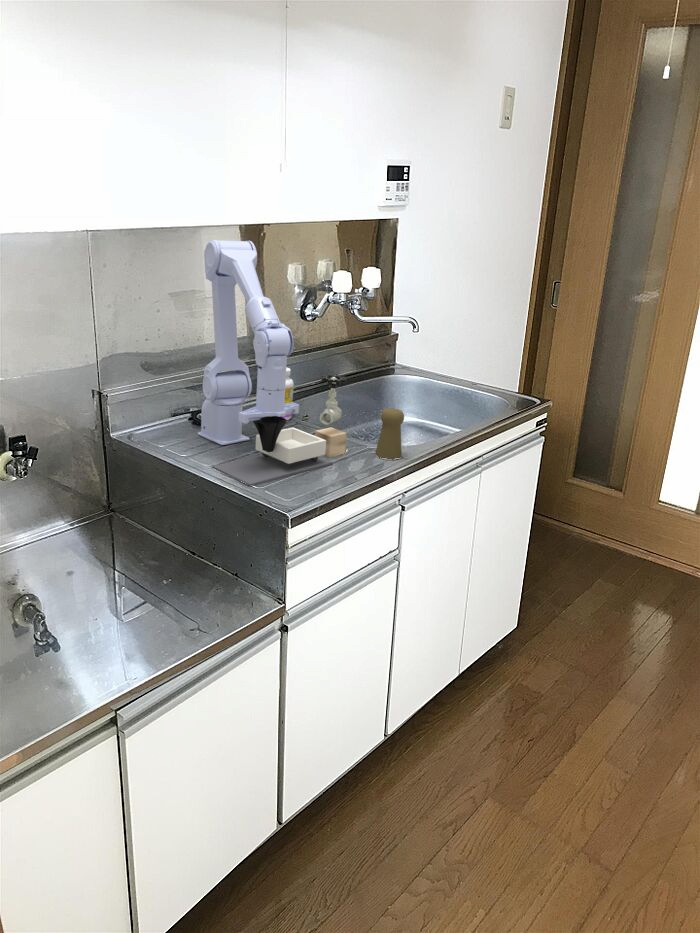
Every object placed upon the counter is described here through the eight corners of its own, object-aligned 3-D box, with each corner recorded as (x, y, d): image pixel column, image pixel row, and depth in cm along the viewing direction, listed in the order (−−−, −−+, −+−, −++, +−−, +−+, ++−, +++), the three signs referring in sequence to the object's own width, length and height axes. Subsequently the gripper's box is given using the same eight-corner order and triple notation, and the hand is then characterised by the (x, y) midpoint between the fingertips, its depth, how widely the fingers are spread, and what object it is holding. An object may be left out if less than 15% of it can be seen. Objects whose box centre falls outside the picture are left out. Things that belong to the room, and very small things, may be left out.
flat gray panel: (212, 468, 161) (212, 466, 160) (295, 448, 177) (295, 446, 176) (249, 486, 153) (249, 484, 153) (332, 464, 169) (332, 462, 169)
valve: (313, 424, 196) (316, 377, 191) (323, 418, 201) (326, 372, 197) (337, 429, 194) (341, 382, 189) (346, 422, 199) (350, 376, 195)
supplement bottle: (262, 419, 195) (264, 369, 191) (269, 413, 202) (271, 364, 197) (288, 423, 195) (291, 373, 190) (294, 416, 201) (297, 367, 196)
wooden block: (313, 451, 176) (315, 430, 174) (329, 447, 180) (331, 427, 178) (329, 458, 173) (331, 436, 171) (345, 454, 176) (346, 433, 175)
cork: (401, 453, 180) (407, 407, 176) (401, 461, 174) (406, 414, 171) (376, 450, 181) (380, 404, 177) (374, 458, 175) (378, 411, 171)
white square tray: (255, 456, 167) (256, 435, 166) (291, 447, 175) (293, 427, 173) (287, 471, 161) (289, 449, 159) (324, 461, 168) (326, 440, 166)
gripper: (255, 396, 150) (252, 462, 154) (310, 387, 160) (306, 449, 165) (233, 388, 154) (230, 452, 159) (287, 379, 164) (284, 440, 169)
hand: (267, 450), depth 162 cm, fingers closed
